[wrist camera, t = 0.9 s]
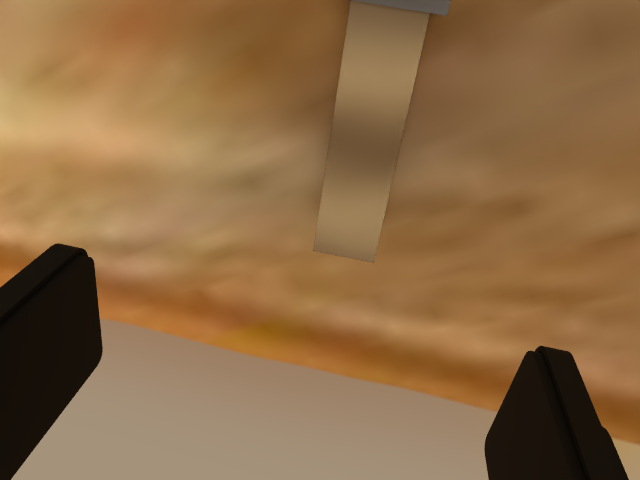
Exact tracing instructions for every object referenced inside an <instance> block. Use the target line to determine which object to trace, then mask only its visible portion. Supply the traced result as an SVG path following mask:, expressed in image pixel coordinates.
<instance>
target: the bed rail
mask: <svg viewBox="0 0 640 480" xmlns="http://www.w3.org/2000/svg"><path fill="white" fill-rule="evenodd" d="M450 1H451V0H351V2H350V9H349V16H348V22H347V29H346V36H345V42H344V49H343V55H342V62H341V69H340V75H339V82H338V89H337V95H336V102H335V109H334V115H333V122H332V128H331V135H330V142H329V148H328V155H327V162H326V168H325V175H324V182H323V188H322V195H321V201H320V208H319V215H318V221H317V228H316V235H315V241H314V248H313V251H316V252H321V253H326V254H331V255H337V256H342V257H347V258H352V259H357V260H362V261H367V262H372V263H374V259H375V255H376V250H377V246H378V242H379V237H380V233H381V228H382V224H383V219H384V215H385V211H386V206H387V202H388V197H389V193H390V188H391V184H392V180H393V175H394V171H395V166H396V162H397V157H398V153H399V149H400V144H401V140H402V135H403V131H404V126H405V122H406V118H407V113H408V109H409V104H410V100H411V95H412V91H413V87H414V82H415V78H416V73H417V69H418V64H419V60H420V56H421V51H422V47H423V42H424V38H425V33H426V29H427V25H428V20H429V16H430V13H433V14H439V15H445V16H447V13H448V9H449V5H450Z"/></svg>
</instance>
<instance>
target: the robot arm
mask: <svg viewBox="0 0 640 480" xmlns="http://www.w3.org/2000/svg"><path fill="white" fill-rule="evenodd" d="M101 356H102V339H101V328H100V318H99V308H98V297H97V287H96V277H95V267H94V261H93V259H92V258H91V257H88V255H87V252H86V251H85V250H84V249H82V248H77V247H73V246H68V245H63V244H54V245H53V246H51V247H50V248H49V249H47V250H46V251H45V252H44V253H42V254H41V255H40V256H39V257H37V258H36V259H35V260H34V261H33V262H31V263H30V264H29V265H28V266H26V267H25V268H24V269H23V270H21V271H20V272H19V273H18V274H16V275H15V276H14V277H13V278H12V279H10V280H9V281H8V282H7V283H5V284H4V285H3V286H2V287H0V480H11V479H12V477H13V476H14V474H15V473H16V472H17V471H18V469H19V468H20V467H21V465H22V464H23V463H24V461H25V460H26V459H27V457H28V456H29V455H30V453H31V452H32V451H33V450H34V448H35V447H36V446H37V444H38V443H39V442H40V440H41V439H42V438H43V436H44V435H45V434H46V433H47V431H48V430H49V429H50V427H51V426H52V425H53V423H54V422H55V420H56V419H57V418H58V417H59V415H60V414H61V413H62V411H63V410H64V409H65V408H66V406H67V405H68V404H69V402H70V401H71V400H72V398H73V397H74V396H75V394H76V393H77V392H78V391H79V389H80V388H81V387H82V385H83V384H84V383H85V381H86V380H87V379H88V377H89V376H90V375H91V373H92V372H93V371H94V369H95V368H96V367H97V365H98V363H99V362H100V359H101ZM485 458H486V464H487V471H488V477H489V480H629V479H628V477H627V474H626V472H625V469H624V467H623V465H622V462H621V460H620V458H619V455H618V453H617V451H616V448H615V446H614V443H613V441H612V439H611V437H610V435H609V433H608V431H607V430H606V429H605V428H604V427H603V426H601V423H600V421H599V419H598V416H597V414H596V411H595V409H594V406H593V404H592V402H591V399H590V397H589V394H588V392H587V389H586V387H585V385H584V382H583V380H582V377H581V375H580V372H579V370H578V368H577V365H576V363H575V360H574V358H573V356H572V354H571V353H570V352H568V351H563V350H559V349H554V348H549V347H544V346H539V347H538V348H537V349H536V350H535V352H534V351H528V352H527V353H526V354H525V356H524V358H523V360H522V362H521V365H520V367H519V369H518V371H517V373H516V375H515V377H514V379H513V381H512V384H511V386H510V388H509V390H508V392H507V394H506V396H505V398H504V400H503V403H502V405H501V407H500V409H499V411H498V413H497V415H496V417H495V419H494V422H493V424H492V426H491V428H490V430H489V432H488V434H487V437H486V441H485Z"/></svg>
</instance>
